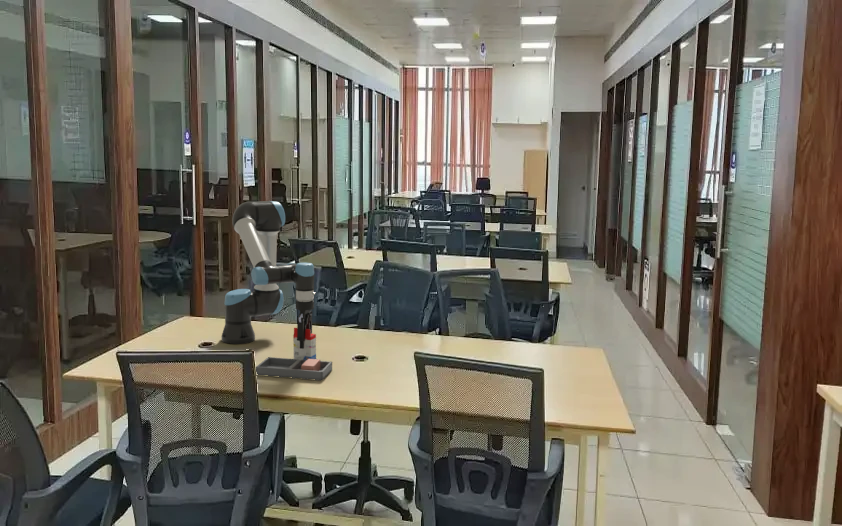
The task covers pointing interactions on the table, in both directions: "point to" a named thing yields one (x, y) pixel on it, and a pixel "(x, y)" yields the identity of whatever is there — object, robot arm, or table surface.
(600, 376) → the table surface
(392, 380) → the table surface
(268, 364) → the caddy
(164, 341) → the table surface
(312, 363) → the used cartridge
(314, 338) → the ink box
